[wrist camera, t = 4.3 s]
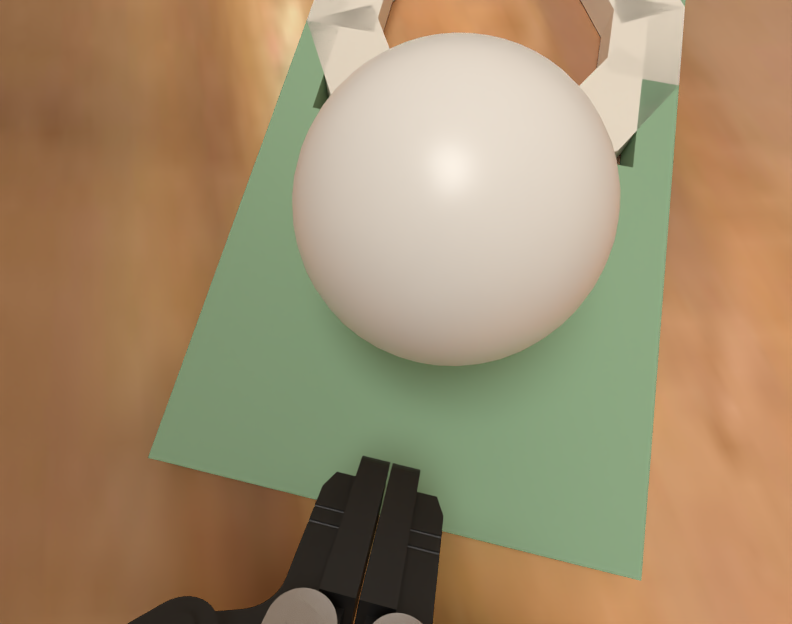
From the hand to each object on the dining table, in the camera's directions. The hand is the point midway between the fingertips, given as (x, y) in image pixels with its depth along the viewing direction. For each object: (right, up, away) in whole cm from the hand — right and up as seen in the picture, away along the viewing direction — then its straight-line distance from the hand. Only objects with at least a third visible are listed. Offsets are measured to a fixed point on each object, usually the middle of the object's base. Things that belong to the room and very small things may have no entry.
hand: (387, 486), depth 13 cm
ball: (+2, +7, 0) cm, 7 cm away
